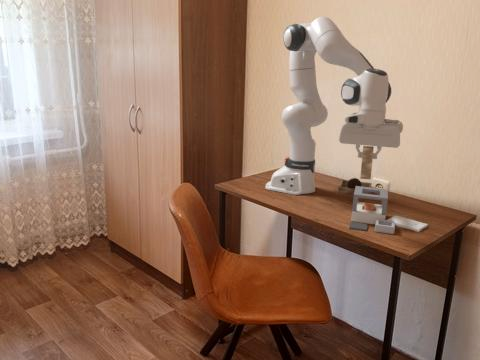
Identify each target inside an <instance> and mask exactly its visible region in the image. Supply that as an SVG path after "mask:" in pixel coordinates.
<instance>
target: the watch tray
mask: <svg viewBox="0 0 480 360" xmlns="http://www.w3.org/2000/svg"><path fill="white" fill-rule="evenodd" d="M349 180H350V179H349ZM349 180H346V179H340V182H339V185H338V188H337V193H338V194H345V195H353V196H354V192H355V189H353V188H347V183H348V181H349ZM360 182H361V187H370V188H372V182H366V181H360ZM344 186H345V187H344ZM362 193H364V194H371V193H372V192H366V191H362Z"/></svg>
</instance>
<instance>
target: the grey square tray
mask: <svg viewBox="0 0 480 360" xmlns="http://www.w3.org/2000/svg"><path fill="white" fill-rule="evenodd" d="M395 226H396V225H395V221H389V220H388V219H385V220H381V219H376V222H375V224H374V232H375V233H377V232H378V233H383V234H390V235H391V234H392V235H394V234H395V230H396V227H395Z"/></svg>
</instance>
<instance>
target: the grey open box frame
mask: <svg viewBox="0 0 480 360" xmlns="http://www.w3.org/2000/svg"><path fill="white" fill-rule="evenodd" d="M362 191H366V192H371V193H375V194H364V193H362ZM376 193H377V194H376ZM359 199H367V200H374V201H375V200H376V201H381V204H378V203H377V204H376V203H373V204H374V205H375V206H374V211H370V210H364V206H365V203H366V202H360V201H359ZM388 199H389V189H386V188H385V189H384V188H379V187H378V188H377V187H371V188H370V187H361V186H356V187H355V192H354V195H353V199H352V206H351V207H352V209H351V218H350V222H356V223H363V224H367V225H375V222H376V219H381V220H386V215H387V208H388V201H389V200H388Z"/></svg>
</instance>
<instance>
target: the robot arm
mask: <svg viewBox="0 0 480 360" xmlns="http://www.w3.org/2000/svg"><path fill="white" fill-rule="evenodd" d="M282 37H283V44H284V47H285V48H286V49H287V50H288V51H289V61H288V64H289V65H288V68H289V70H288V71H289V83H290V85H289V86H290V90H291V92H292V93H293V94H294V95H295V97H296V100H297V103H293V104H291V105H289V106H287V107H285V108H284V109H283V111H282V113H281V121H282V123H283V125H284V127H285V128H286V129H287V132H288V137H289V156H286V157H285V159H284V165H283V166H282V167H280V168H279V169H277V170H276V171H274V172H273V174H272V175H271V179H270V181H268V182H267V183H266V184H265V189H266V190H268V191H273V192H280V193H283V194H289V195H295V196H297V195H298V196H299V195H305V194H311V193H315V192H316V184H315V174H314V173H315V169H316V159H315V156H316V146H317V145H316V141H315V140H314V138H313V137H312V131H311V128H315V127H318V126H320V125H322V124H323V123H325V121H326V120H327V119H328V117H329V116H328V115H329V113H328V109H327V107H326V105H325V104H324V103H323V102H322V99H321V97H320V94H319V90H318V87H317V85H318V84H317V74H316V72H317V71H316V59H315V56H316V53H318V55H319V57H320V58H321V59H322V60H323V61H324V62H325V63H327V64H330V65H334V66H339V67H343V68H347V69H349V70H351V71H353V72H354V74H355V75H357V76H355V77H354V76H353V77H351V78H348V79H346V80H345V81H344V82H343V84H342V86H341V89H340V90H341V91H340V97H341V99H342V101H343V102H344V103H345V105H349V106H355V107H356V106H357V107H358V106H359V107H358V112H353V113H350V114H347V115H345V117H344V123H343V125H341V126H342V127H341V129H340V133H339V136H338V137H339V138H338V141H339V143H340V144H345V145H355V150H356V152H357V158H361V159H362V154H363V151H360V147H361V146H373V147H376V149H377V150H376V152H373V160H377V159H378V155H379V154H380V152H381V151H382V147H383V148H394V149H395V148H399V147H400V146H401V134H402V132H403V129H404V124H403V122H401V121H400V120H398V119H391V118H389V119H387V118H386V113H387V107H386V106H387V105H386V104H387V102H388V101H389V100H390V98H391V95H392V86H391V84H390V82H389V74H388V73H387V72H386V71H385V70H382V69H379V68H378V69H377V68H374V66H373V65H372V64H371V62H370V61H369V60H368V59H367V58H366V56H364V54H363V53H362V52H361V51H360V50H359V49H357V48H356V47H355V46H353V45H352V43H350V42H349V40H347V38H346V37H345V36H344V34H343V33H342V31H341V29H339V27H338V26H337V24H336V23H335V22H334V21H333V20H332V19H331V18H329V17H327V16H319V17H317V18H315V19H314V20H313V21H311V22H310V21H309V22H305V23H304V22H303V23H293V24H290V25H288V26H287V27H286V29H284V32H283V36H282Z"/></svg>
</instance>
